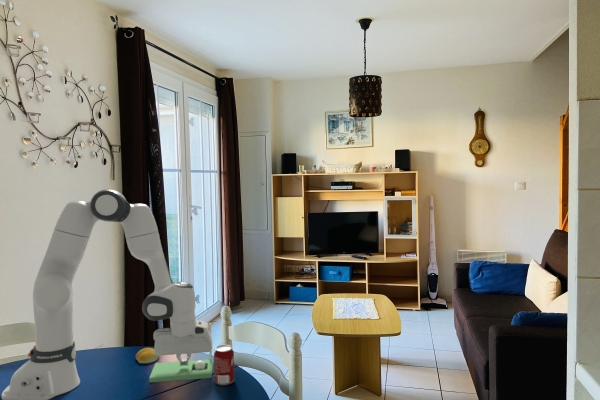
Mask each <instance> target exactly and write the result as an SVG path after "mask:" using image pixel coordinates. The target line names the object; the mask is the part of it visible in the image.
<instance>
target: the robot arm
mask: <svg viewBox="0 0 600 400" xmlns="http://www.w3.org/2000/svg"><path fill="white" fill-rule="evenodd" d="M99 221H103V222H109V223H110V222H113V223H120V224H121V226H122V229H123V232H124V235H125V236H124V237H125V240H126V241H125V242H126V244H127V248H128V251H129V252H130V254H131V256H133V258H135V259H137V260H140V261H142V262H144V263H145V264H146V265H147V266H148V268H149V271H150V274H151V277H152V280H153V284H154V290H153V292H152V293H150V294H149V295H147V296H146V298H145V299H144V300H143V302H142V305H141V310H142V313H143V315H144V316H145V318H147V319H148V320H150V321H162V320H167V319H169V320H170V321H169V322H170V327H166V328H165V327H164V328H158V329H156V330H154V331H153V335H152V336H153V340H154V348H153V349H154V353H155V355H157V356H159V357H160V356H169V355H170V356H171V355H173V356H174V355H175V356H176V359H177V360H178V362H179V361H180V366H185V365H188V363H189V361H190V359H191V356H192V354H203V353H210V351H211V350H212V351H213V337H212V332H211V333H210V331H209V330H208V324H209V322H207V321H203V320H199V319H197V317H196V313H195V311H196V295H195V293H196V292H195V289H194V286H193V285H192V283H189V282H187V281H174V282H173V280H172V276H171V273H170V271H169V267H168V263H167V260H166V257H165V254H164V252H163V251H164V250H163V247H162V243H161V239H160V233H159V229H158V225H157V222H156V219H155V216H154V214H153V212H152V210H151V208H150V206H148V205H147V204H145V203H129V202H128V201H127V199H126V197H125V196H124V195H123V194H122V193H121V191H118V190H116V189H112V188H105V189H101V190H99V191H97V192H96V193H95V194H94V195H93V196H92V198H91V199H90V201H83V200H72V201H69V202H68V203H66V204H65V207H64V208H63V210H62V211H61V213H60V215H59V217H58V219H57V222H55V223H56V224H55V226H54V230H53V233H52V235H51V238H50V240H49V243H48V246H47V249H46V252H45V254H44V257H43V260H42V263H41V265H40V267H39V270H38V272H37V275H36V278H35V281H34V285H33V291H32V301H33V316H34V318H33V319H34V333H35V334H34V337H35V345H34V346H33V347H32V349H31V350H29V352H28V353H27V358H29V360H27V361H26V362H25V363H24V364H22V365H21V366H20V367H19V368H18V369H17V370H16V371H15V372H14V373H12V376H11V378H10V383H9V385H8V386H7V387H5V389H4V390H3V391H2V393H1V400H51V399H52V398H54V397H56V396H60V395H63V394H66V393H68V392H70V391H72V390H73V389H75V388H76V387H78V386H79V385H80V384H81V379H80V377H79V374H78V369H77V364H76V356H77V354H76V353H77V351H76V349H77V348H76V343H75V340H74V321H73V320H74V319H73V318H74V317H73V316H74V314H73V311H74V309H73V305H74V304H73V302H74V301H73V299H74V298H73V281H74V278H75V276H76V274H77V271H78V268H79V267H80V264H81V262H82V260H83V257H84V255H85V251H86V249H87V246H88V243H89V241H90V237H91V234H92V231H93V228H94V227H95V225H96V223H97V222H99ZM181 355H186V357H187V358H182V357H181Z"/></svg>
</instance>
